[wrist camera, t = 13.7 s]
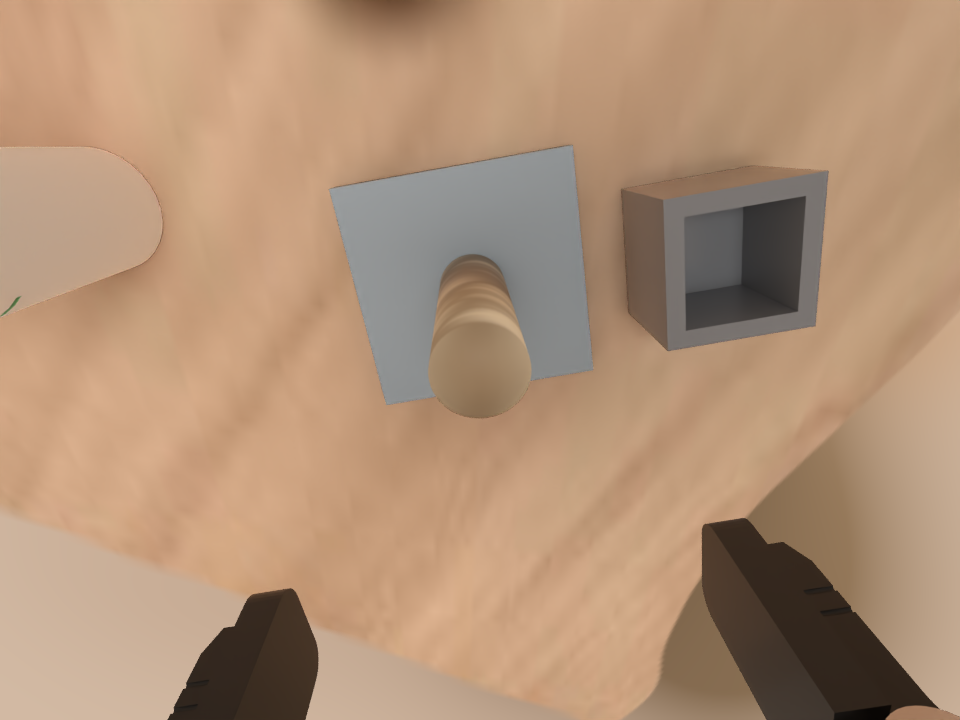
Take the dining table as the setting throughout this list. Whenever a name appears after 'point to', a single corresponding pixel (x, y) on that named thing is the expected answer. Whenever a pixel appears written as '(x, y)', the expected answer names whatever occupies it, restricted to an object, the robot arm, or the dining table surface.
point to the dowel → (477, 341)
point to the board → (462, 231)
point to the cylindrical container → (70, 221)
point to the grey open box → (725, 254)
